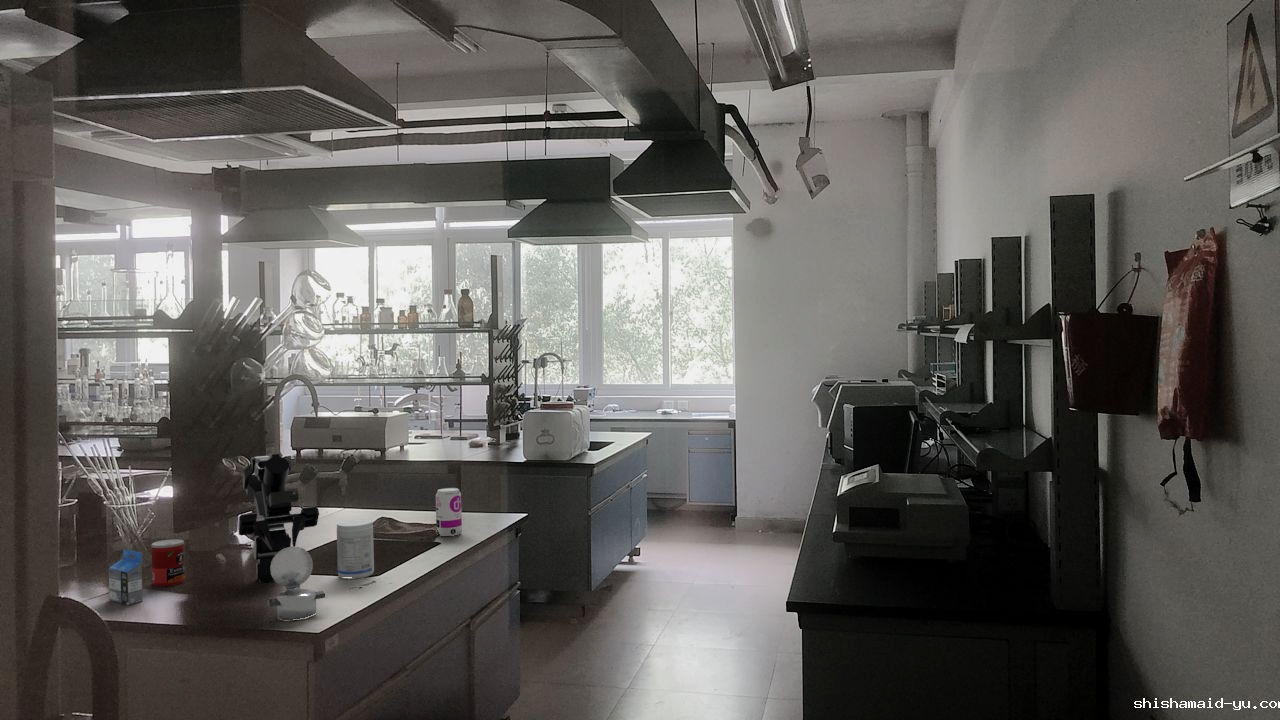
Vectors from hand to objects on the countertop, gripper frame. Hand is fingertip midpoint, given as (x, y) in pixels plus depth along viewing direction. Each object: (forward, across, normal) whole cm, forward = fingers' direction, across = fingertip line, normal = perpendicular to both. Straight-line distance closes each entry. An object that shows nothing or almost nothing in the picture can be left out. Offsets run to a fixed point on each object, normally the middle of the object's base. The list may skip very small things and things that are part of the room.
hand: (283, 548), depth 212 cm
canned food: (-15, -24, +33) cm, 44 cm away
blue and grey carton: (-6, -34, +24) cm, 42 cm away
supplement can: (-23, +58, +41) cm, 75 cm away
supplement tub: (+1, +20, +17) cm, 26 cm away
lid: (+10, 0, -7) cm, 12 cm away
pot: (+21, 0, -3) cm, 21 cm away
